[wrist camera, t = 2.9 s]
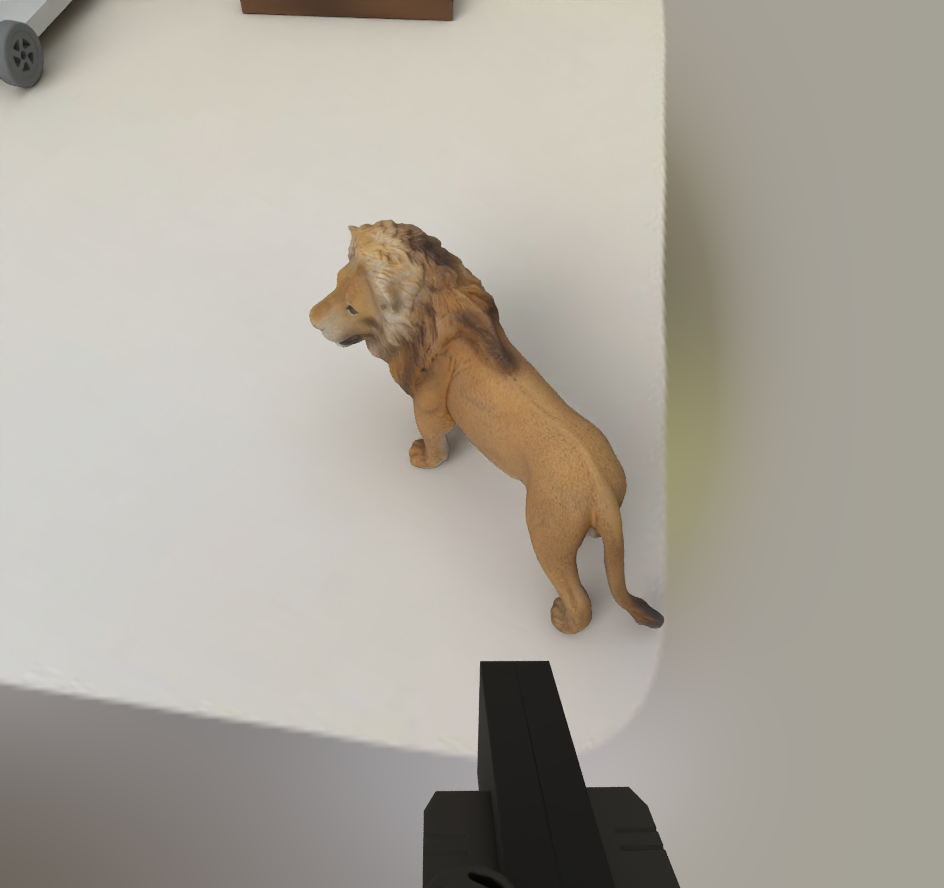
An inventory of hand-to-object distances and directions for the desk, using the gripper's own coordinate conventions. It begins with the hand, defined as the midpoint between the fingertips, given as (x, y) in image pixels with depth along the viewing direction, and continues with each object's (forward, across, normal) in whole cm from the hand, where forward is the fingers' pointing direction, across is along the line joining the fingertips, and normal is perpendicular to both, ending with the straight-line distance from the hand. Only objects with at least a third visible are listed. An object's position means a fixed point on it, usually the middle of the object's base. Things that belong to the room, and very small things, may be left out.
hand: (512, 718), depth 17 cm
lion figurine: (+13, 0, +1) cm, 13 cm away
